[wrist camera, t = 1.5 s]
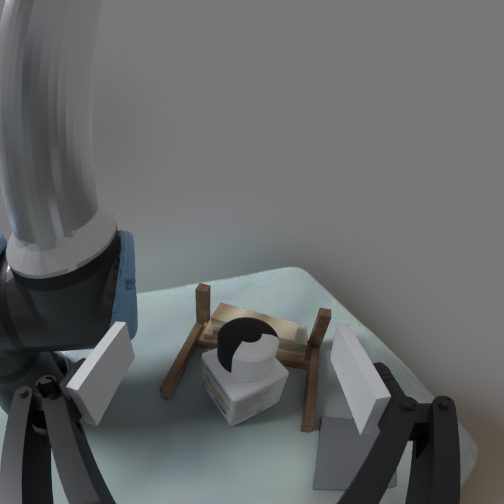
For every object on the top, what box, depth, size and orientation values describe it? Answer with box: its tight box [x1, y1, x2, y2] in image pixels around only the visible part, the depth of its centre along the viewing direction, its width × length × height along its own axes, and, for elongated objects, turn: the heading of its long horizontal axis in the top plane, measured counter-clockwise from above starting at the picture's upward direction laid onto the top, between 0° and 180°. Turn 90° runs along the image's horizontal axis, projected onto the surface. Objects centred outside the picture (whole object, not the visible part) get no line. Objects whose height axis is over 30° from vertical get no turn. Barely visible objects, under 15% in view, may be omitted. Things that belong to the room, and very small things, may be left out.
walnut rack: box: [160, 283, 331, 432], centre depth 36 cm, size 21×17×8 cm
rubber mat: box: [313, 417, 395, 490], centre depth 25 cm, size 11×11×1 cm
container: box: [202, 317, 289, 426], centre depth 30 cm, size 8×8×13 cm
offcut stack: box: [203, 303, 307, 361], centre depth 40 cm, size 16×5×4 cm, turn 78°
